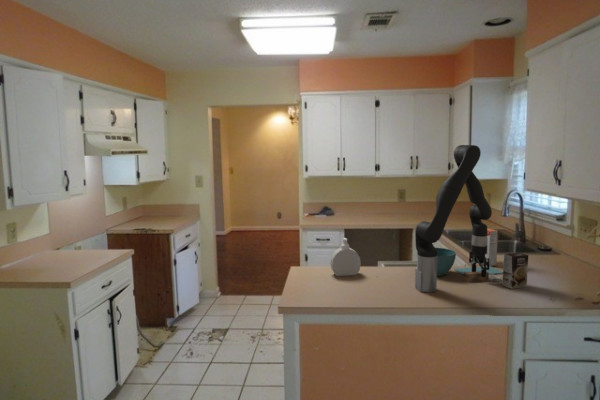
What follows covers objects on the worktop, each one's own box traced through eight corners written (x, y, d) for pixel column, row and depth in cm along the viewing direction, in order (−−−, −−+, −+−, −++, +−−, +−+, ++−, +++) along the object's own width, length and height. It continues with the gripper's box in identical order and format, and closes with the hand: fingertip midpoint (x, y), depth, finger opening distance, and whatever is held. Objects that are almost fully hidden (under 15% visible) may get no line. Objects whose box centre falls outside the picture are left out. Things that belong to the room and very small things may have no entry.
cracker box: (470, 260, 239) (472, 226, 236) (479, 259, 241) (480, 225, 238) (488, 267, 226) (489, 231, 223) (496, 265, 228) (498, 230, 225)
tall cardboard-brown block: (468, 283, 200) (469, 275, 200) (461, 278, 207) (461, 271, 207) (501, 280, 203) (501, 273, 202) (493, 276, 210) (493, 269, 209)
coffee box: (512, 289, 190) (513, 256, 188) (501, 284, 197) (503, 253, 195) (527, 287, 193) (529, 255, 191) (516, 282, 199) (518, 251, 197)
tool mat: (465, 276, 210) (466, 275, 210) (454, 269, 222) (454, 268, 222) (503, 273, 213) (503, 272, 213) (490, 267, 225) (490, 266, 225)
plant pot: (413, 272, 218) (413, 251, 217) (432, 266, 229) (433, 245, 228) (442, 281, 204) (443, 258, 202) (461, 273, 215) (462, 251, 213)
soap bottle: (358, 271, 222) (358, 237, 219) (360, 274, 217) (360, 239, 214) (330, 273, 220) (329, 238, 217) (332, 276, 215) (331, 240, 212)
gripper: (464, 241, 209) (464, 270, 211) (480, 247, 195) (479, 279, 197) (478, 240, 210) (477, 269, 212) (494, 246, 196) (493, 278, 198)
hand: (478, 274), depth 205 cm, fingers open, 8 cm apart
